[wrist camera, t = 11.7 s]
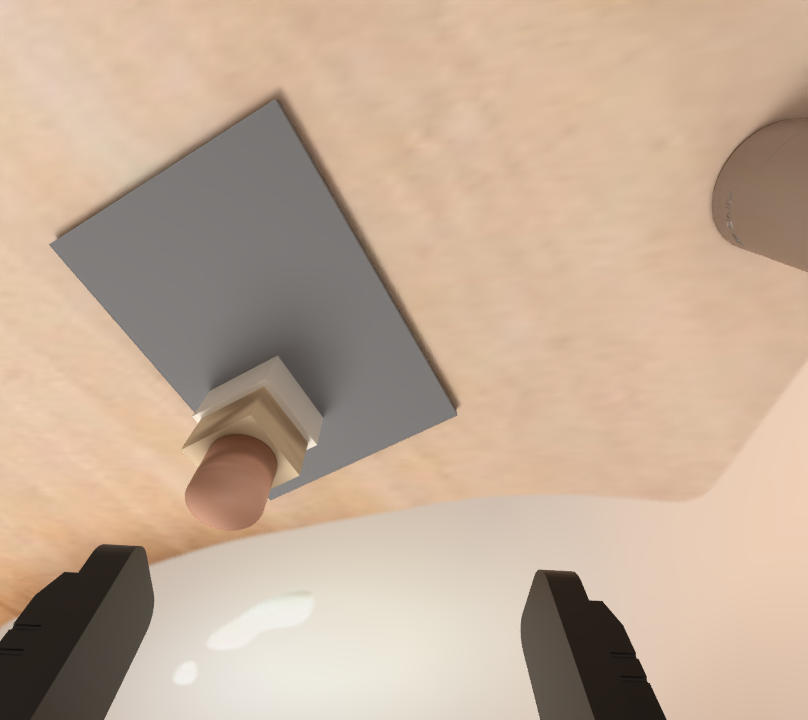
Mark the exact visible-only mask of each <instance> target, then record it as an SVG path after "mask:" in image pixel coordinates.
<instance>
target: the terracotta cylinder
mask: <svg viewBox="0 0 808 720" xmlns="http://www.w3.org/2000/svg"><path fill="white" fill-rule="evenodd" d="M276 471H277V459H276V456H275V454H274V452H273V451H272V450H271V448H270V447H269V446H268V445H267V444H265V443H264V442H263V441H261V440H259V439H257V438H255V437H253V436H249V435H245V434H231V435H226V436H223V437H221V438H219V439H217V440H216V441H215V442H214V443H213V444H212V445H211V446H210V448H209V449H208V451H207V453H206V455H205V456H204V458H203V460H202V462H201V464H200V465H199V467H198V469H197V471H196V472H195V474H194V476H193V478H192V480H191V481H190V483H189V485H188V487H187V489H186V493H185V501H186V505H187V507H188V509H189V511H190V512H191V513H192V515H193V516H194V517H195V518H196V519H198V520H199V521H200V522H202V523H203V524H205V525H207V526H210V527H212V528H215V529H219V530H227V531H234V530H241V529H244V528H247V527H249V526H251V525H253V524H254V523H256V522H257V521H258V520H259V518H260V517H261V515H262V513H263V511H264V508H265V505H266V502H267V499H268V496H269V493H270V490H271V487H272V484H273V481H274V477H275V474H276Z"/></svg>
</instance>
